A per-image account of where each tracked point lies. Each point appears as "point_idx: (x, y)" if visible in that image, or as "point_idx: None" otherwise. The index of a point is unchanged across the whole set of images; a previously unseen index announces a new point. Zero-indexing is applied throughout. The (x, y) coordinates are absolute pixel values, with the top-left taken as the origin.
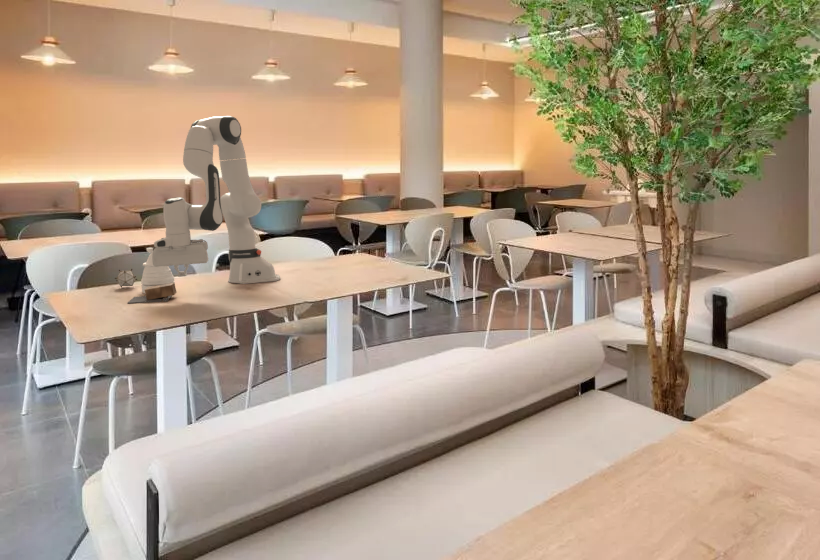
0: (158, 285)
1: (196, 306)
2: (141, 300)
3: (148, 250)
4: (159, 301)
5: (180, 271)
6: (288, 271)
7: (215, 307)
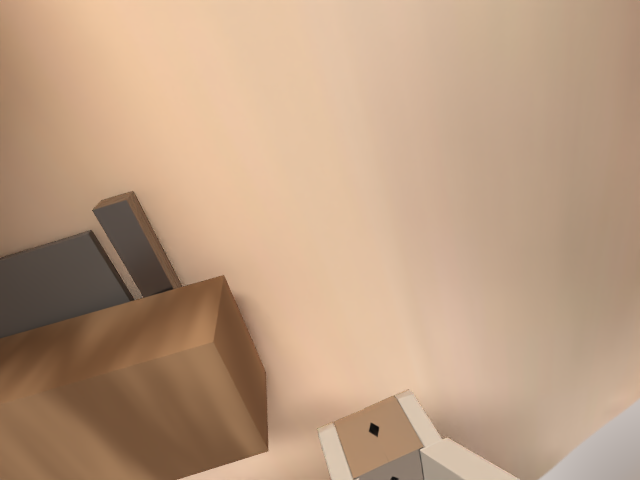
0: (41, 411)
1: None
2: None
3: None
4: None
5: (362, 474)
6: None
7: (509, 448)
